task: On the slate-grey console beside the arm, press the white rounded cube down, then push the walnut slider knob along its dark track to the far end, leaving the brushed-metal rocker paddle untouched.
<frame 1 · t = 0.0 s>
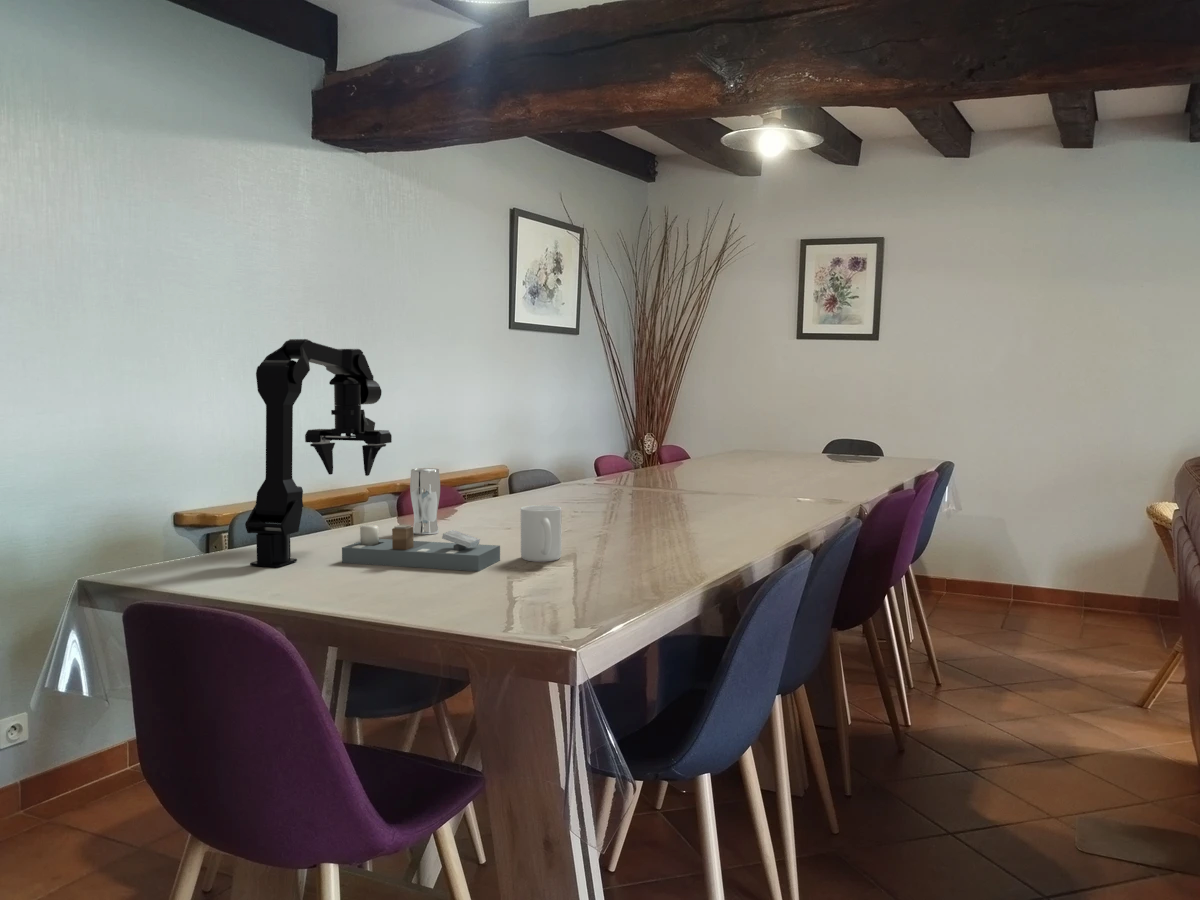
hand: (348, 475, 206), 15 cm above the table, fingers open, 9 cm apart
beer glass: (425, 533, 217), on the table
console: (421, 561, 183), on the table
slider knob: (402, 536, 180), point 5 cm above the table, slide at 0.0 cm
white rounded cube: (369, 535, 186), point 5 cm above the table, slide at 0.0 cm
mug: (542, 560, 185), on the table
rocker paddle: (461, 538, 180), point 5 cm above the table, hinge at 15.0°
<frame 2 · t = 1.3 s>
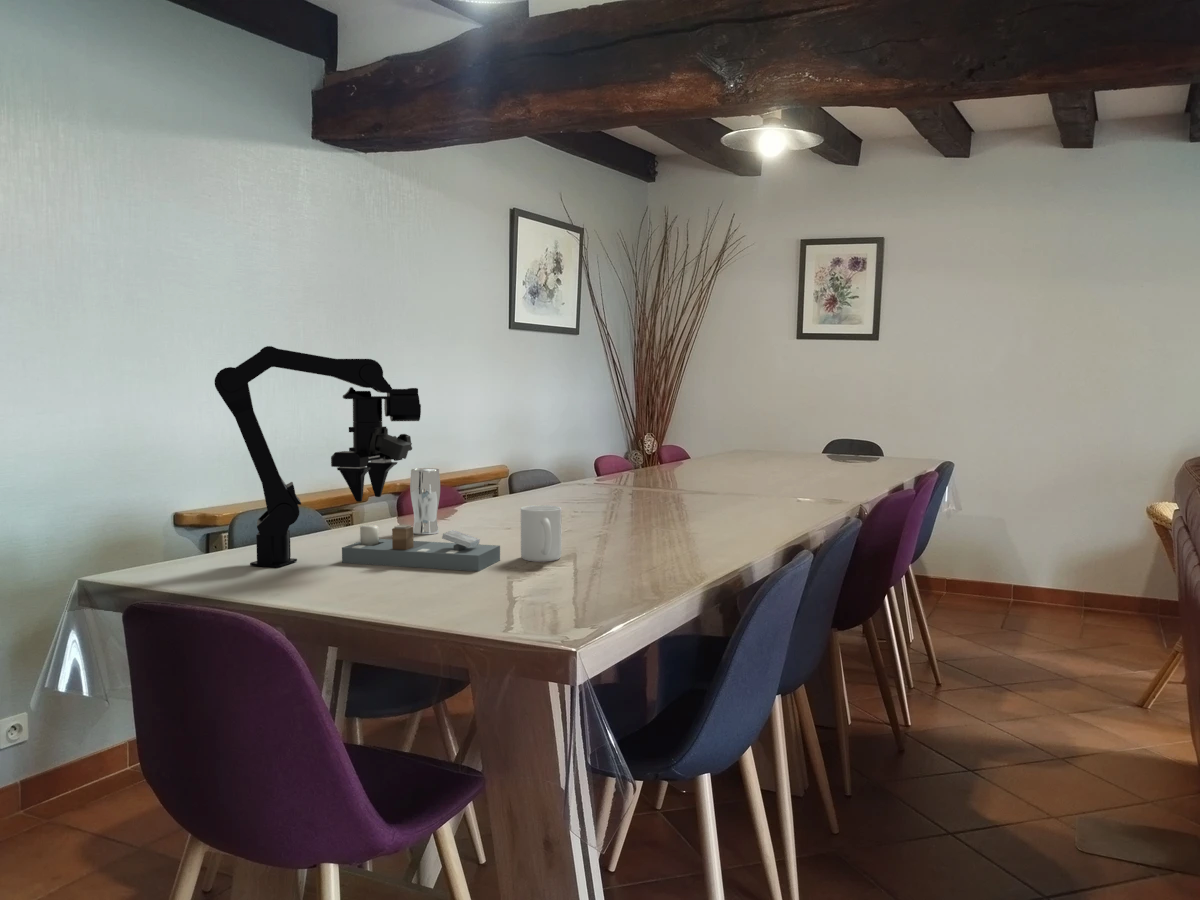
hand: (368, 499, 185), 12 cm above the table, fingers open, 7 cm apart
nothing on the table moved.
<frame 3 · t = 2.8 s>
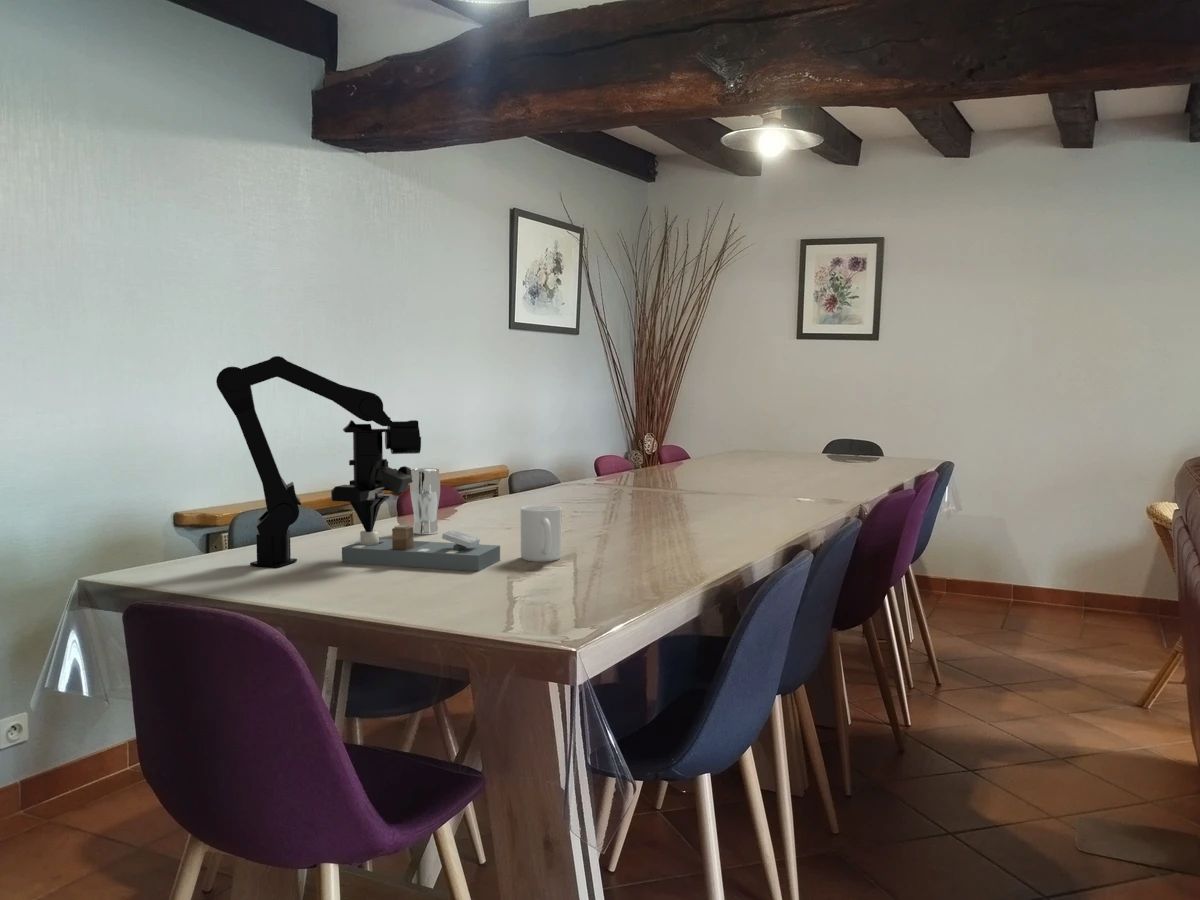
hand: (369, 531, 185), 5 cm above the table, fingers closed, pressing on white rounded cube
white rounded cube: (369, 541, 186), point 4 cm above the table, slide at 1.1 cm, touching gripper
everything else where it was.
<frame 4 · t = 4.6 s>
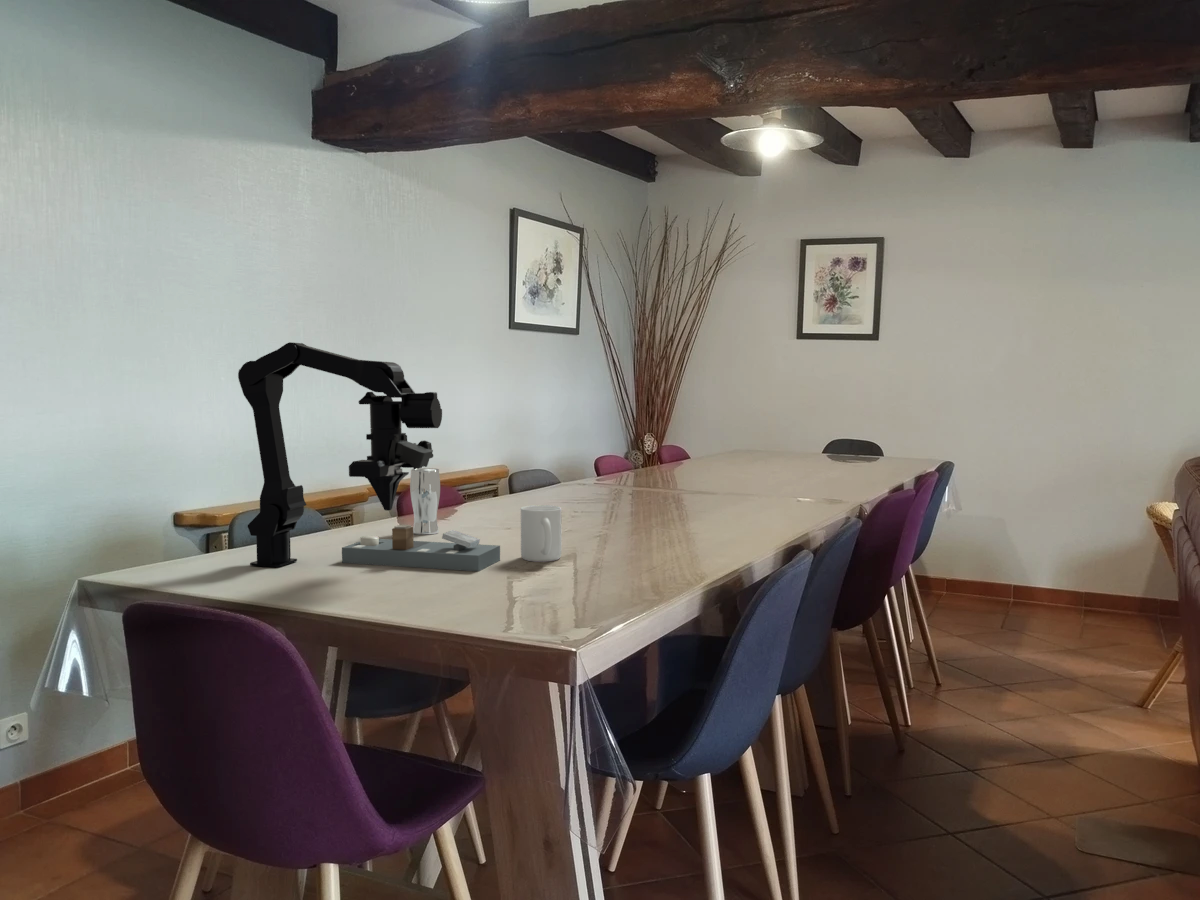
hand: (388, 510, 175), 11 cm above the table, fingers closed
white rounded cube: (369, 546, 186), point 2 cm above the table, slide at 2.2 cm
everything else where it was.
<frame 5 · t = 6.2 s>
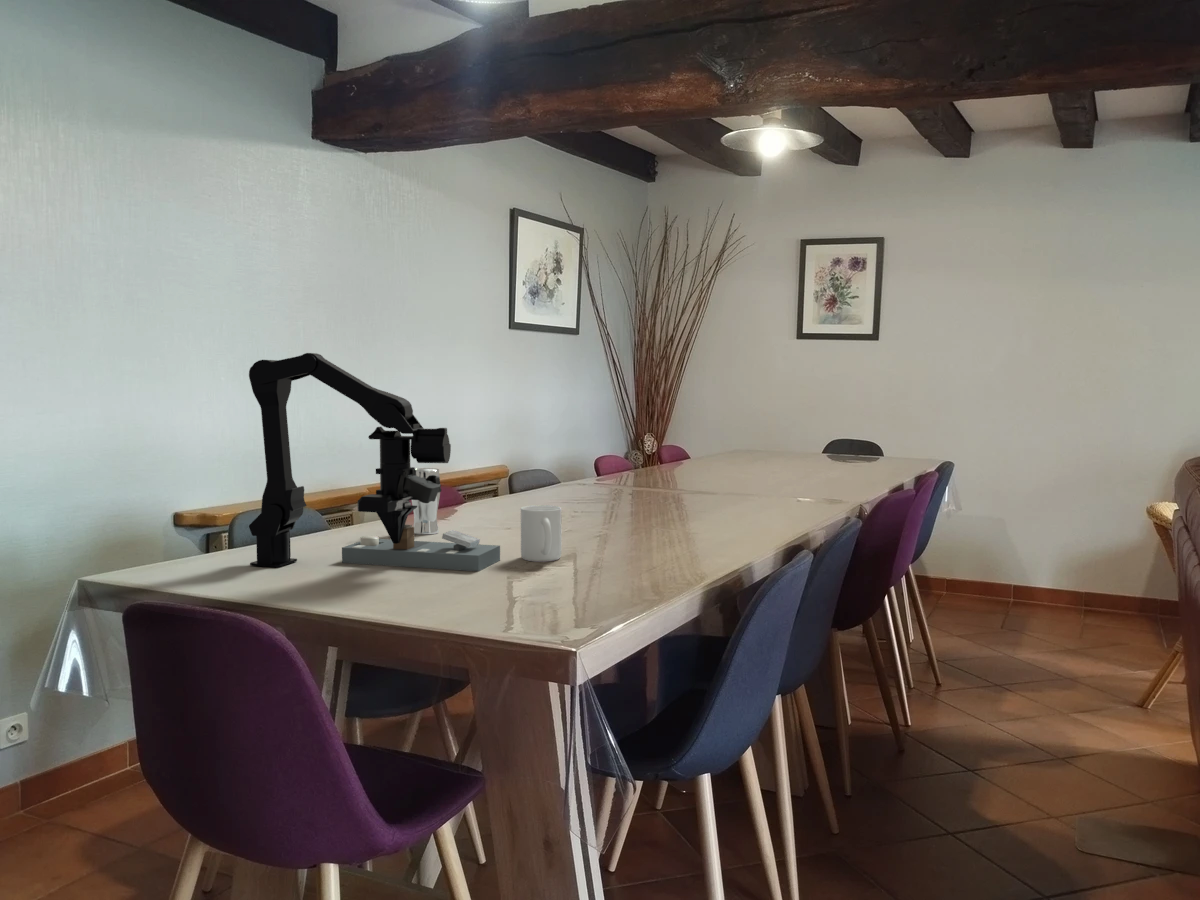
hand: (396, 543, 178), 5 cm above the table, fingers closed
slider knob: (403, 536, 181), point 5 cm above the table, slide at 0.3 cm, touching gripper
everything else where it was.
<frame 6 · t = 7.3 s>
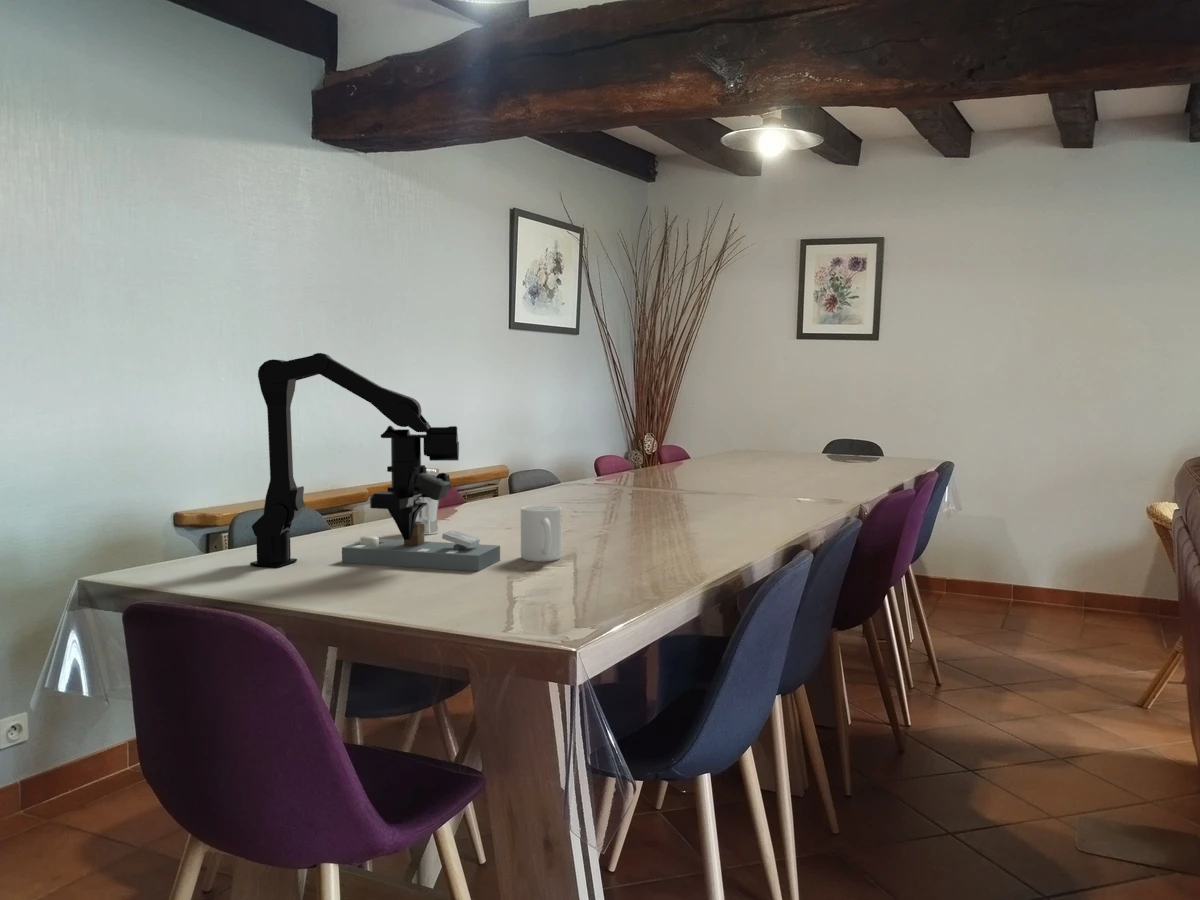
hand: (407, 539, 182), 5 cm above the table, fingers closed
slider knob: (414, 533, 185), point 5 cm above the table, slide at 4.8 cm, touching gripper
everything else where it was.
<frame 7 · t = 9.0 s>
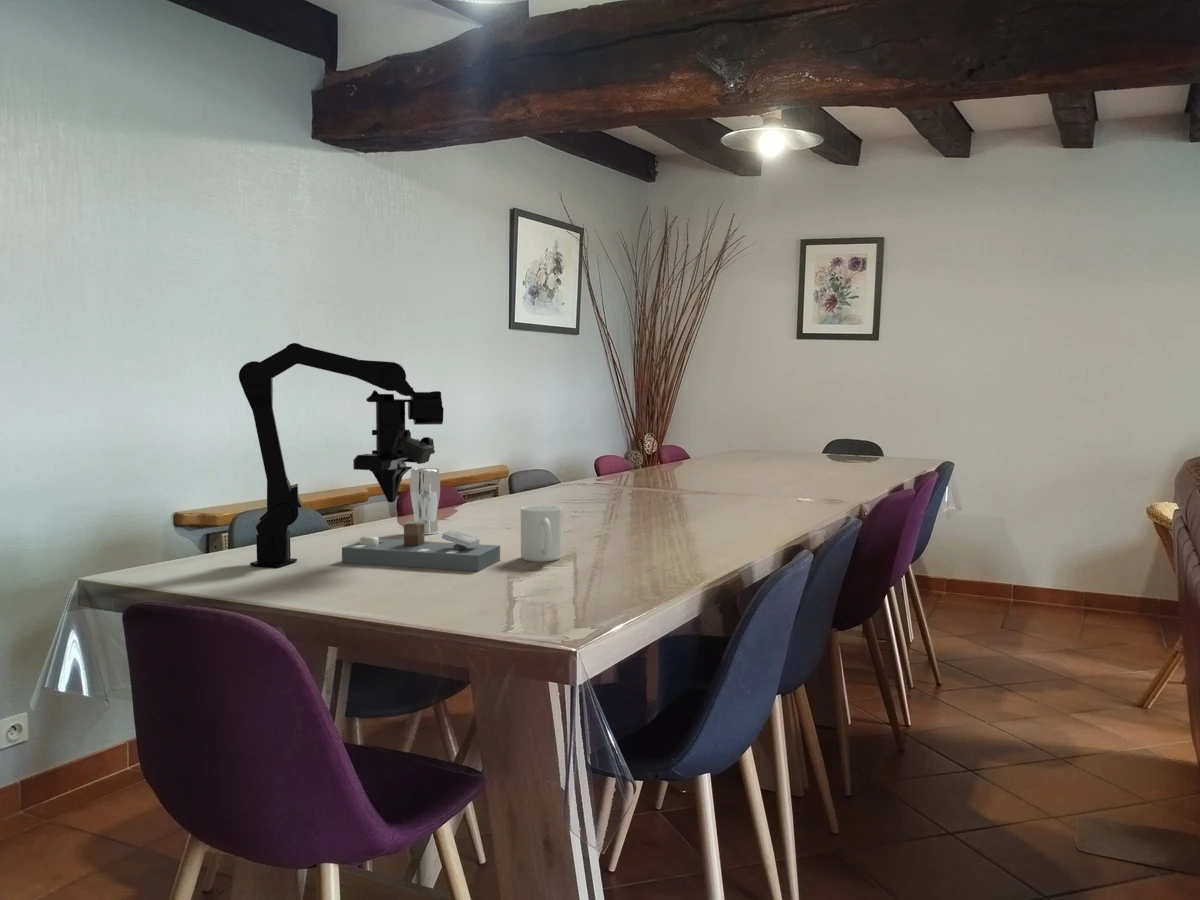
hand: (391, 502, 186), 11 cm above the table, fingers closed
slider knob: (414, 533, 185), point 5 cm above the table, slide at 4.8 cm
everything else where it was.
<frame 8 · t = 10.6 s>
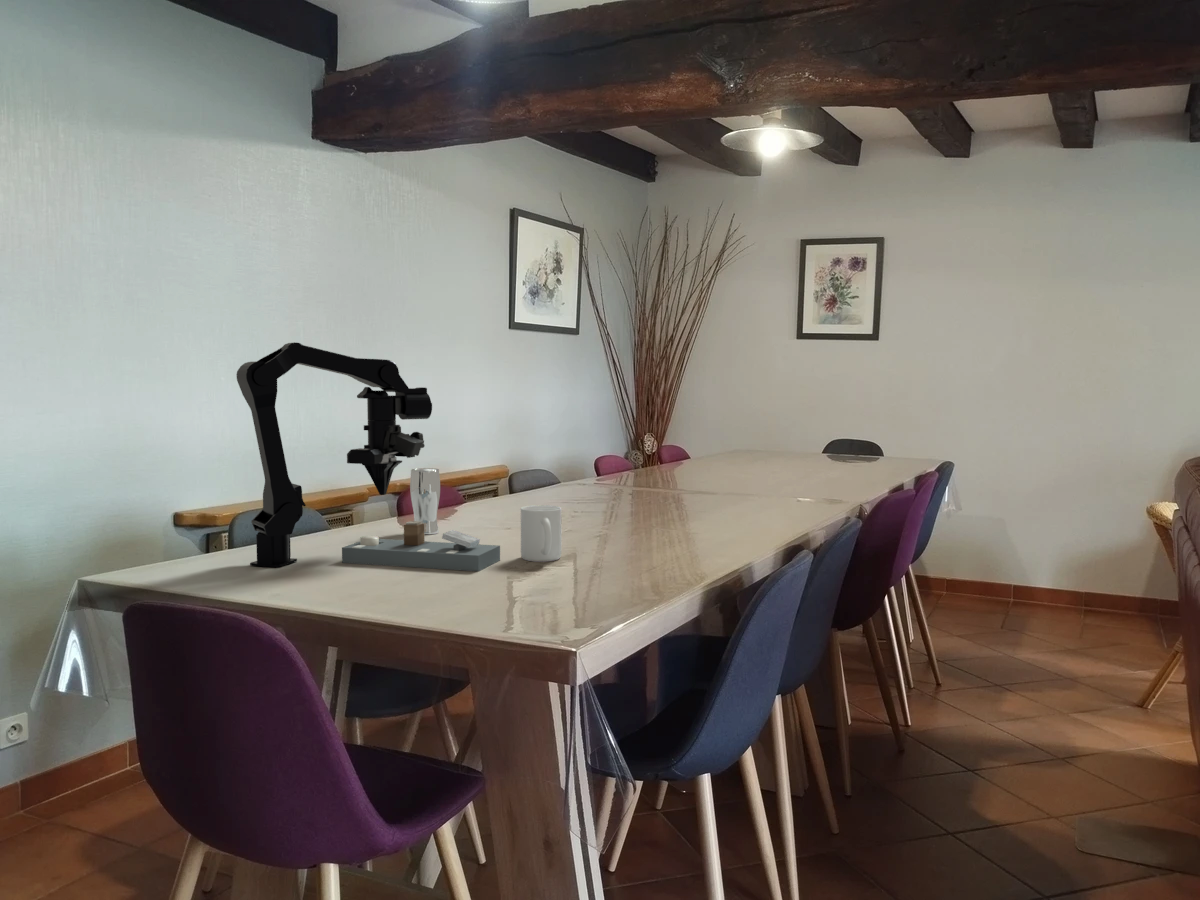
hand: (382, 494, 192), 12 cm above the table, fingers closed
nothing on the table moved.
at the end: white rounded cube slide at 2.2 cm; slider knob slide at 4.8 cm; rocker paddle at +15° (first picture: +15°) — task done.
